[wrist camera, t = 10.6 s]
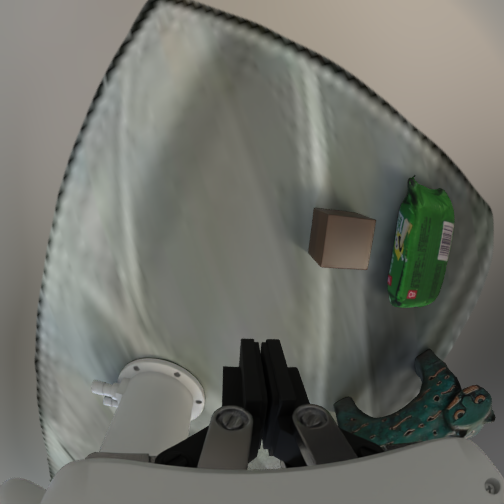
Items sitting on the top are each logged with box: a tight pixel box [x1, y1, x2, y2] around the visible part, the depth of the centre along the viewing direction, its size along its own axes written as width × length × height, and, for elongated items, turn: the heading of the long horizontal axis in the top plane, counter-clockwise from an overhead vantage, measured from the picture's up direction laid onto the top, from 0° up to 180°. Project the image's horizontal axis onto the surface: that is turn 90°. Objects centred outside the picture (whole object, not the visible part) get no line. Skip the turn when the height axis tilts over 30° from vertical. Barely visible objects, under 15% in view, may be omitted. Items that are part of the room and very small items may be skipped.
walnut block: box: [308, 208, 376, 270], centre depth 28 cm, size 5×5×5 cm
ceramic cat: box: [334, 349, 495, 447], centre depth 28 cm, size 20×6×20 cm, turn 116°
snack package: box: [388, 175, 454, 308], centre depth 29 cm, size 7×16×5 cm, turn 177°
